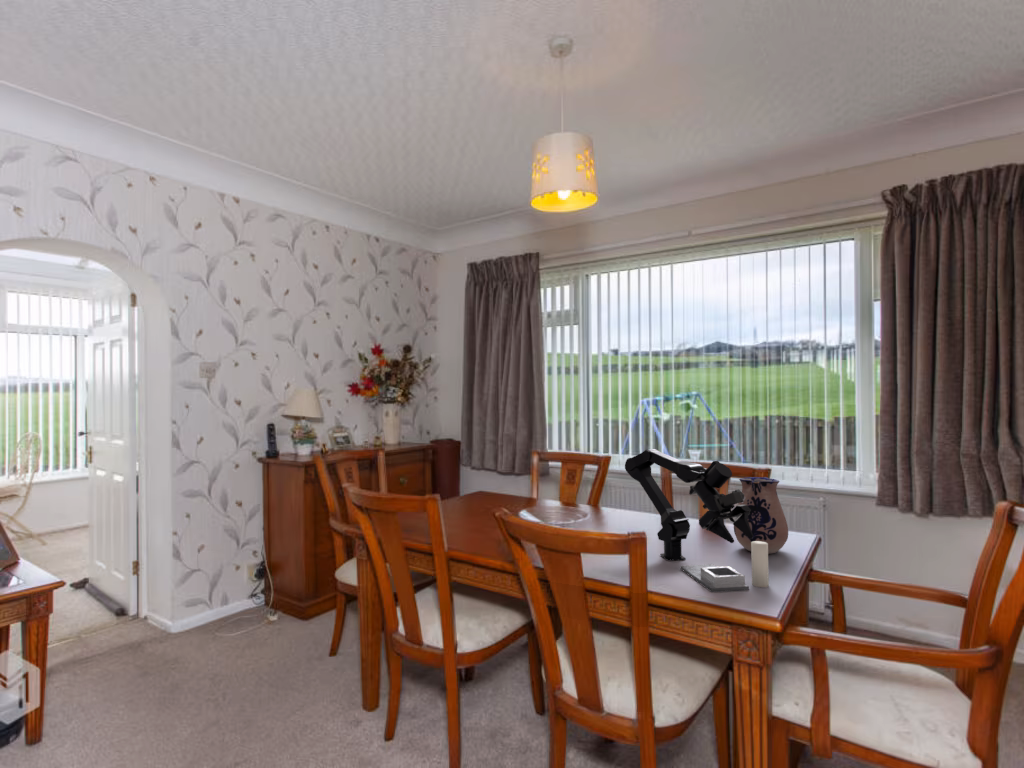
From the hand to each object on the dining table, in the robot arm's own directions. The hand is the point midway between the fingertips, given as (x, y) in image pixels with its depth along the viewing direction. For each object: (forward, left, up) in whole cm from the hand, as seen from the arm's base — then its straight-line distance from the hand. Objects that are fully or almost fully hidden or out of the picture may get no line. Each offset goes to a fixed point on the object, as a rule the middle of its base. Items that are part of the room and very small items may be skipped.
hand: (742, 540), depth 163 cm
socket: (-2, -9, -12) cm, 15 cm away
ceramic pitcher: (-29, +23, -12) cm, 39 cm away
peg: (+5, +2, -12) cm, 13 cm away
